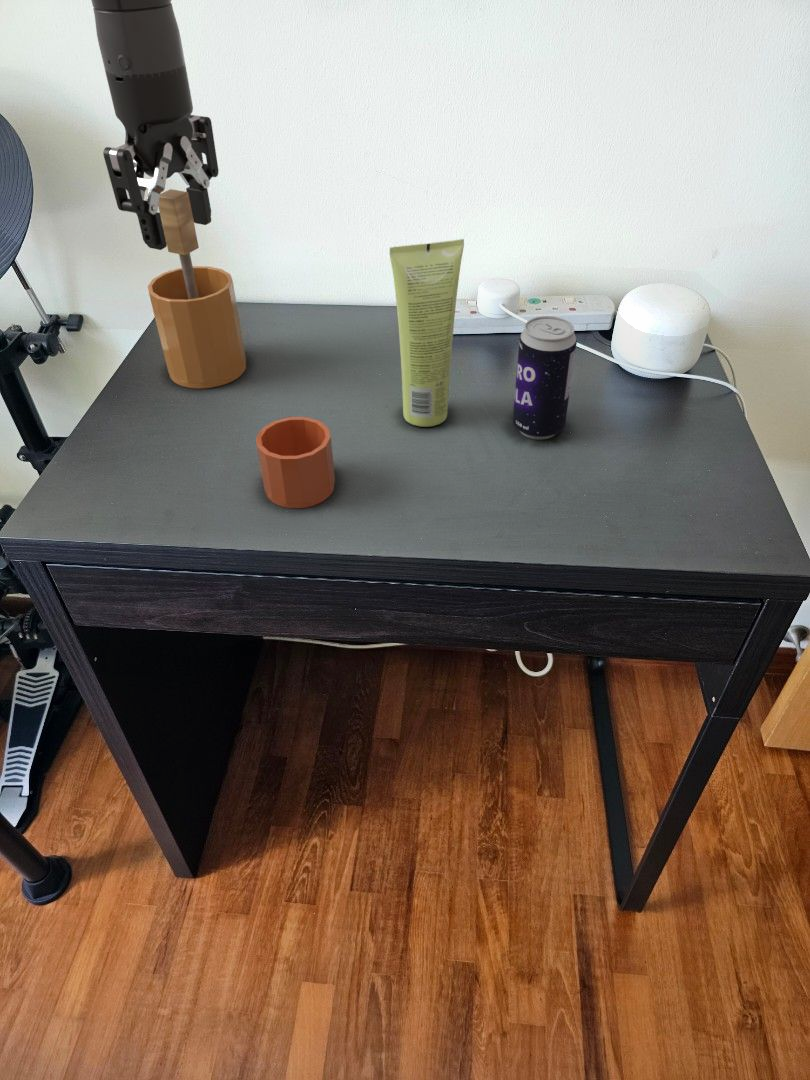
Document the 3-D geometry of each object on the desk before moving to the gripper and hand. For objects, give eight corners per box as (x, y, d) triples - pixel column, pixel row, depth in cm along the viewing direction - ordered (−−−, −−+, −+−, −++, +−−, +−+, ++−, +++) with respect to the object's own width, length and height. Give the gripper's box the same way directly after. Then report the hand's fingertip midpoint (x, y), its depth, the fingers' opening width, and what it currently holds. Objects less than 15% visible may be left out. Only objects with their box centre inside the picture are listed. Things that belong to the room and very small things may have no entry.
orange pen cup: (215, 395, 93) (197, 307, 85) (152, 378, 96) (130, 291, 88) (261, 359, 99) (248, 274, 91) (201, 344, 102) (183, 260, 95)
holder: (311, 516, 76) (305, 466, 72) (250, 496, 78) (241, 446, 74) (348, 476, 80) (344, 427, 76) (289, 458, 83) (282, 410, 79)
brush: (210, 375, 95) (175, 203, 81) (181, 367, 96) (141, 197, 83) (232, 358, 97) (201, 190, 84) (203, 351, 99) (169, 184, 86)
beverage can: (528, 408, 89) (538, 309, 81) (573, 424, 87) (588, 323, 79) (502, 432, 86) (510, 330, 78) (548, 449, 83) (561, 346, 75)
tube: (420, 397, 91) (420, 227, 78) (458, 409, 89) (464, 237, 76) (394, 421, 88) (388, 247, 75) (433, 434, 86) (434, 257, 73)
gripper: (162, 44, 81) (194, 209, 92) (59, 74, 72) (108, 253, 83) (221, 50, 79) (246, 218, 90) (122, 81, 69) (164, 265, 80)
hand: (180, 234), depth 86 cm, fingers open, 7 cm apart
